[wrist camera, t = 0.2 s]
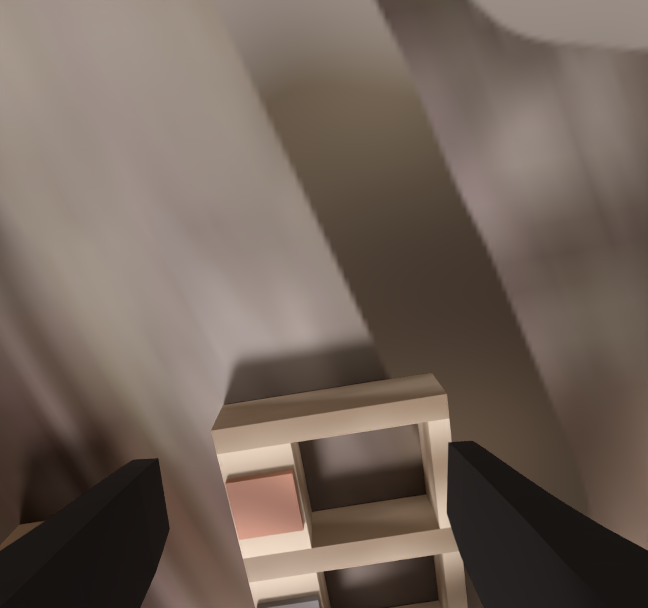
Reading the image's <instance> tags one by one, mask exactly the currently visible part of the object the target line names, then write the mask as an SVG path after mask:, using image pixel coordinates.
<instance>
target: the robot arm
mask: <svg viewBox="0 0 648 608" xmlns="http://www.w3.org/2000/svg"><path fill="white" fill-rule="evenodd" d="M447 516H448V519H449V522H450V525H451V529H452V532H453V535H454V538H455V541H456V544H457V547H458V550H459V553H460V556H461V558H462V560H463V562H464V565H465V567H466V569H467V571H468V574H469V576H470V578H471V580H472V582H473V585H474V587H475V589H476V591H477V593H478V596H479V598H480V600H481V602H482V604H483V607H484V608H648V550H646V549H644V548H642V547H640V546H638V545H636V544H635V543H633V542H631V541H629V540H627V539H625V538H623V537H621V536H620V535H618V534H616V533H614V532H612V531H610V530H609V529H607V528H605V527H603V526H602V525H600V524H598V523H596V522H595V521H593V520H591V519H590V518H588V517H587V516H585V515H583V514H582V513H580V512H578V511H577V510H575V509H573V508H572V507H570V506H568V505H567V504H565V503H564V502H562V501H560V500H559V499H557V498H556V497H554V496H553V495H551V494H550V493H548V492H547V491H545V490H544V489H542V488H541V487H539V486H538V485H536V484H535V483H533V482H532V481H530V480H529V479H527V478H526V477H524V476H523V475H522V474H520V473H519V472H517V471H516V470H514V469H513V468H512V467H510V466H509V465H507V464H506V463H504V462H503V461H502V460H500V459H499V458H497V457H496V456H494V455H493V454H492V453H490V452H489V451H487V450H486V449H484V448H483V447H481V446H480V445H478V444H477V443H475V442H473V441H464V442H463V441H462V442H448V474H447ZM169 529H170V528H169V522H168V516H167V510H166V503H165V497H164V491H163V485H162V478H161V472H160V466H159V460H158V458H156V459H137V460H132V461H131V462H129V463H127V464H126V465H124V466H123V467H121V468H120V469H118V470H117V471H115V472H114V473H112V474H111V475H110V476H108V477H107V478H105V479H104V480H102V481H101V482H100V483H98V484H97V485H95V486H94V487H93V488H91V489H90V490H88V491H87V492H86V493H84V494H83V495H81V496H80V497H79V498H77V499H76V500H74V501H73V502H72V503H70V504H69V505H67V506H66V507H64V508H63V509H62V510H60V511H59V512H57V513H56V514H55V515H53V516H52V517H50V518H49V519H47V520H46V521H44V522H43V523H41V524H40V525H38V526H37V527H35V528H34V529H32V530H31V531H29V532H28V533H26V534H25V535H23V536H22V537H20V538H19V539H17V540H16V541H14V542H13V543H11V544H10V545H8V546H7V547H5V548H4V549H2V550H0V608H140V607H141V604H142V602H143V600H144V598H145V595H146V593H147V591H148V589H149V587H150V584H151V582H152V580H153V577H154V575H155V573H156V570H157V567H158V564H159V561H160V558H161V555H162V552H163V549H164V545H165V542H166V539H167V536H168V532H169Z"/></svg>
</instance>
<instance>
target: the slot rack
mask: <svg viewBox="0 0 648 608" xmlns="http://www.w3.org/2000/svg"><path fill="white" fill-rule="evenodd" d="M448 410H449V409H448V399H447V393H446V392H445V391H444V389H443V388H442V386H441V385H440V383H439V382H438V381H437V379H436V378H435V377H434V375H433V374H432V373H425V374H419V375H412V376H406V377H400V378H393V379H387V380H380V381H374V382H368V383H361V384H355V385H348V386H342V387H336V388H329V389H323V390H317V391H310V392H304V393H298V394H291V395H285V396H278V397H272V398H266V399H259V400H253V401H247V402H240V403H234V404H228V405H223V407H222V409H221V411H220V413H219V415H218V417H217V419H216V421H215V423H214V426H213V428H212V430H211V433H212V437H213V441H214V445H215V449H216V453H217V457H218V461H219V465H220V469H221V473H222V477H223V481H224V485H225V489H226V493H227V497H228V501H229V505H230V509H231V513H232V517H233V521H234V525H235V529H236V533H237V537H238V541H239V545H240V549H241V553H242V557H243V561H244V565H245V569H246V573H247V577H248V581H249V585H250V589H251V593H252V597H253V601H254V605H255V608H331V606H330V601H329V596H328V591H327V586H326V581H325V576H324V571H330V570H336V569H343V568H350V567H356V566H363V565H370V564H377V563H383V562H390V561H397V560H403V559H410V558H417V557H423V556H430V555H434V564H435V572H436V581H437V589H438V598H439V600H438V601H431V602H425V603H418V604H411V605H404V606H398V607H391V608H468V606H467V595H466V585H465V575H464V564H463V560H462V558H461V556H460V553H459V550H458V547H457V544H456V541H455V538H454V535H453V532H452V529H451V525H450V522H449V519H448V516H447V474H448V442H452V440H451V430H450V420H449V411H448ZM416 423H418V427H419V435H420V444H421V453H422V461H423V470H424V478H425V487H426V495H419V496H413V497H406V498H400V499H393V500H387V501H380V502H373V503H367V504H360V505H354V506H347V507H341V508H334V509H327V510H321V511H314V512H312V509H311V504H310V499H309V494H308V489H307V484H306V479H305V474H304V468H303V463H302V458H301V453H300V448H299V443H298V442H300V441H307V440H313V439H320V438H326V437H333V436H339V435H345V434H352V433H358V432H365V431H371V430H378V429H384V428H391V427H397V426H404V425H410V424H416Z"/></svg>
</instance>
